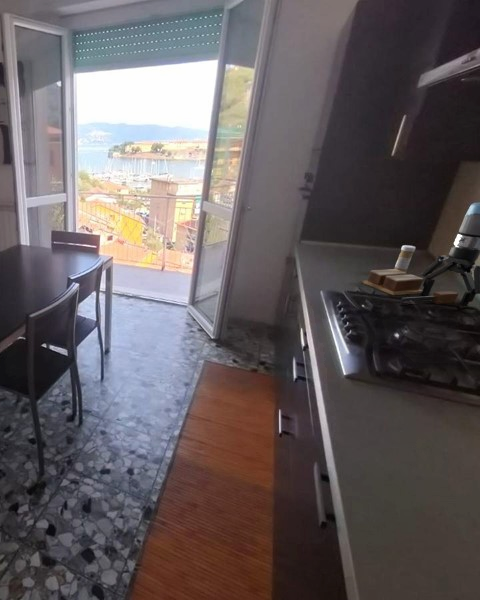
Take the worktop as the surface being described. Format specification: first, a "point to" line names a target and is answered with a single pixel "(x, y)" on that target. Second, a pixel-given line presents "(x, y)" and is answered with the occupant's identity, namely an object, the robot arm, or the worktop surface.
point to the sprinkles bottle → (404, 257)
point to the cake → (394, 282)
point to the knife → (434, 298)
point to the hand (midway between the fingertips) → (442, 301)
